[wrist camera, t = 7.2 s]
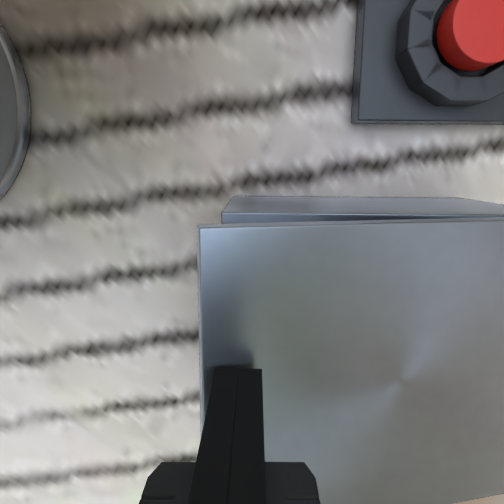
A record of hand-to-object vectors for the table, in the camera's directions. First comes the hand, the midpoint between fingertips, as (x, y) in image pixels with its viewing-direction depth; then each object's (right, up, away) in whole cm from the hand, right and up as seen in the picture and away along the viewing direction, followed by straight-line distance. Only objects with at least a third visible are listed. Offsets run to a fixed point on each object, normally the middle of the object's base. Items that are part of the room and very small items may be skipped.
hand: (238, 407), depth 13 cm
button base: (+11, +16, +10) cm, 22 cm away
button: (+11, +16, +7) cm, 20 cm away
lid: (+6, 0, +3) cm, 6 cm away
